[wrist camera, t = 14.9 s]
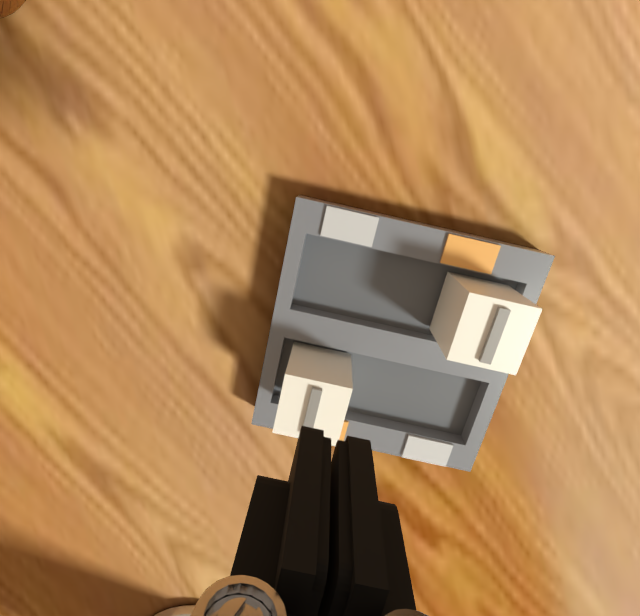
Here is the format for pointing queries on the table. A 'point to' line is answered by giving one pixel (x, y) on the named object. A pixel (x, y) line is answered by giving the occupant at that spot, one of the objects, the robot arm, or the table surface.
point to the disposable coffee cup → (9, 6)
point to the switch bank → (390, 325)
